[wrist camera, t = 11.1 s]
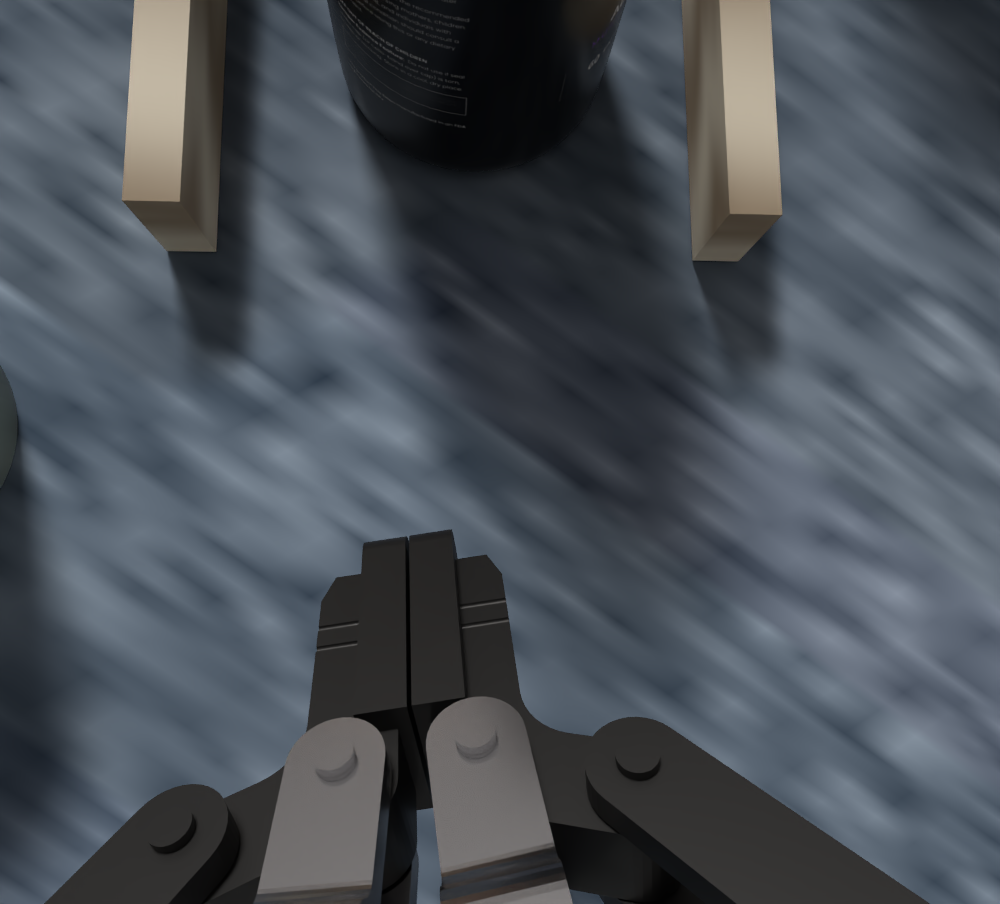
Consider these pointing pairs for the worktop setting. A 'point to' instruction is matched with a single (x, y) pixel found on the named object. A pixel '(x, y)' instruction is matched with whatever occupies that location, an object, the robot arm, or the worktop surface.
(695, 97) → the u-shaped wooden frame
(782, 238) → the worktop surface
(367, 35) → the supplement bottle
